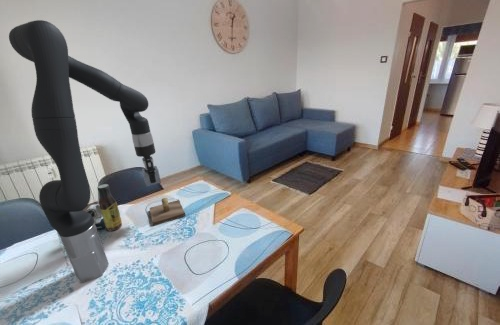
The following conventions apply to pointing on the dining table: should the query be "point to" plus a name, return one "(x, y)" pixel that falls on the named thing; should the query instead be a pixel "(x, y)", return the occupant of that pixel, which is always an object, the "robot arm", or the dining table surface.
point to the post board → (166, 211)
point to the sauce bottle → (109, 208)
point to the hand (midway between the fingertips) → (152, 179)
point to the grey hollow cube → (147, 179)
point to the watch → (96, 216)
